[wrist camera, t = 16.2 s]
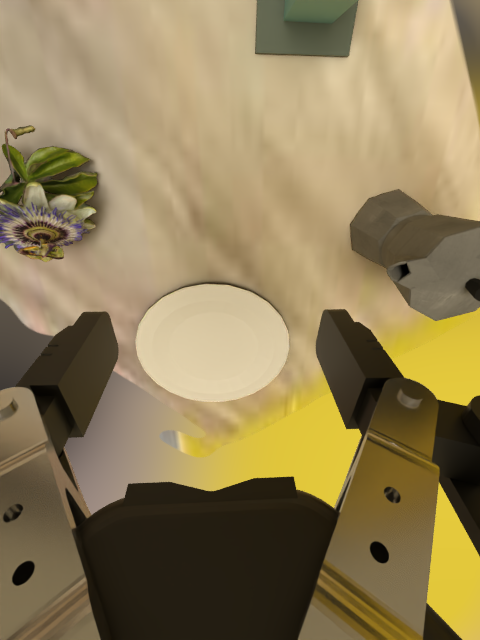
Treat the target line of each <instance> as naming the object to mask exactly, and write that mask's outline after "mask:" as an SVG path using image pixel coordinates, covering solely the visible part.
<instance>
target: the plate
mask: <svg viewBox="0 0 480 640" xmlns="http://www.w3.org/2000/svg"><path fill="white" fill-rule="evenodd" d="M135 343H136V350H137V356H138V359H139V361H140V363H141V365H142V367H143V368H144V370H145V372H146V373H147V374H148V375H149V376H150V377H151V378H152V379H153V380H154V381H155V382H156V383H157V384H158V385H160V386H161V387H163V388H164V389H166V390H167V391H169V392H171V393H174V394H176V395H179V396H181V397H184V398H187V399H192V400H197V401H202V402H223V401H229V400H236V399H239V398H242V397H245V396H248V395H251V394H253V393H255V392H257V391H258V390H260V389H262V388H263V387H265V386H267V385H268V384H269V383H270V382H271V381H272V380H273V379H274V378H275V377H276V376H277V375H278V374H279V373H280V371H281V369H282V368H283V366H284V364H285V363H286V360H287V356H288V352H289V348H290V344H289V334H288V330H287V328H286V325H285V323H284V321H283V319H282V317H281V315H280V314H279V313H278V312H277V311H276V310H275V309H274V308H273V306H272V305H271V304H270V303H269V302H268V301H266V300H264V299H263V298H261V297H259V296H258V295H256V294H254V293H253V292H251V291H248V290H245V289H242V288H238V287H235V286H232V285H226V284H208V283H205V284H200V285H194V286H188V287H183V288H181V289H179V290H176V291H174V292H172V293H170V294H168V295H166V296H163V297H162V298H161V299H160V300H159V301H157V302H156V303H155V304H154V305H153V306H152V307H150V308H149V309H148V311H147V312H146V314H145V315H144V317H143V319H142V320H141V322H140V324H139V326H138V330H137V335H136V340H135Z"/></svg>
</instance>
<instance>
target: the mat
mask: <svg viewBox="0 0 480 640" xmlns="http://www.w3.org/2000/svg"><path fill="white" fill-rule="evenodd" d="M357 5H358V1H357V2H355V3H354V4H353V5H352V6H351V7H350V8H349V9H348V10H347V11H345V12H344V13H343V14H342V15H341V16H340V17H339V18H338V19H337V20H335V21H334V22H333V23H332V24H330V23H312V22H295V21H283V20H284V8H285V0H257V19H256V47H255V54H281V55H309V56H337V57H348V56H349V51H350V45H351V40H352V34H353V28H354V22H355V17H356V11H357Z"/></svg>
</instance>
